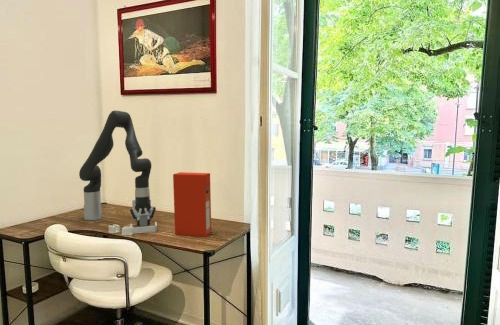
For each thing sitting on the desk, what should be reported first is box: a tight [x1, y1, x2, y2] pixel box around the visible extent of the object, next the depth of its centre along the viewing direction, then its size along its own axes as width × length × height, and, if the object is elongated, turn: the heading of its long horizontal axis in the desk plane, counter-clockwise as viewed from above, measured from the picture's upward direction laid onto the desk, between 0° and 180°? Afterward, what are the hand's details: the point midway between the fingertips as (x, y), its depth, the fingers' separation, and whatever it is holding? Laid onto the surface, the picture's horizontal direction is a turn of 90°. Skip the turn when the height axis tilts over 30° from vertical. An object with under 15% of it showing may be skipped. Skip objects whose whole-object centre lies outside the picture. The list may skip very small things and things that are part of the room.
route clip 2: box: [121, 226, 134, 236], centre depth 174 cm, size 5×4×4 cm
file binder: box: [172, 171, 212, 238], centre depth 173 cm, size 8×17×32 cm, turn 75°
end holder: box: [129, 221, 158, 235], centre depth 181 cm, size 14×9×3 cm, turn 107°
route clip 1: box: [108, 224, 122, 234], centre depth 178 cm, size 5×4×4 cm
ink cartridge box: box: [131, 199, 152, 221], centre depth 203 cm, size 10×6×14 cm, turn 78°
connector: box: [139, 215, 148, 227], centre depth 184 cm, size 4×11×6 cm, turn 18°
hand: (143, 225), depth 182 cm, fingers closed on connector, 4 cm apart
